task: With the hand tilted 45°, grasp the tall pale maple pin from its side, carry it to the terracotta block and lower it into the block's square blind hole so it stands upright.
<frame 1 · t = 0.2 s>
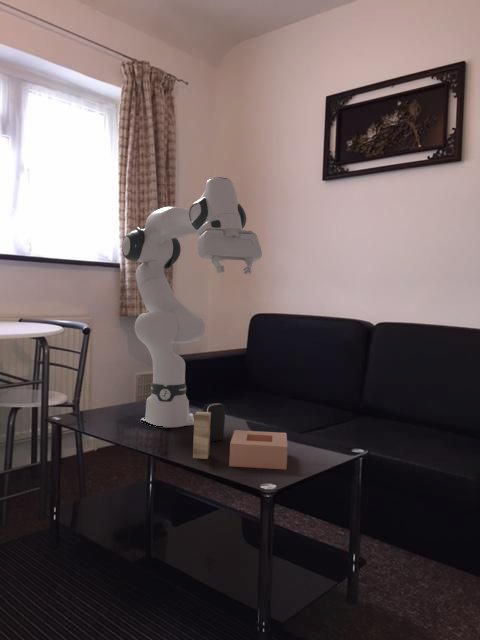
hand: (234, 273, 155), 51 cm above the table, tool tilted 20°, fingers open, 8 cm apart
maple pin: (201, 456, 149), on the table
battery charger: (212, 440, 167), on the table
terracotta socket block: (258, 459, 148), on the table
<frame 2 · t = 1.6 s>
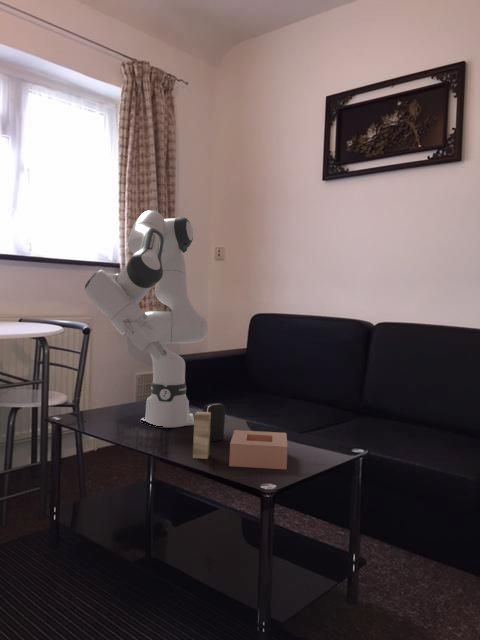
hand: (163, 357, 149), 27 cm above the table, tool tilted 45°, fingers open, 8 cm apart
nothing on the table moved.
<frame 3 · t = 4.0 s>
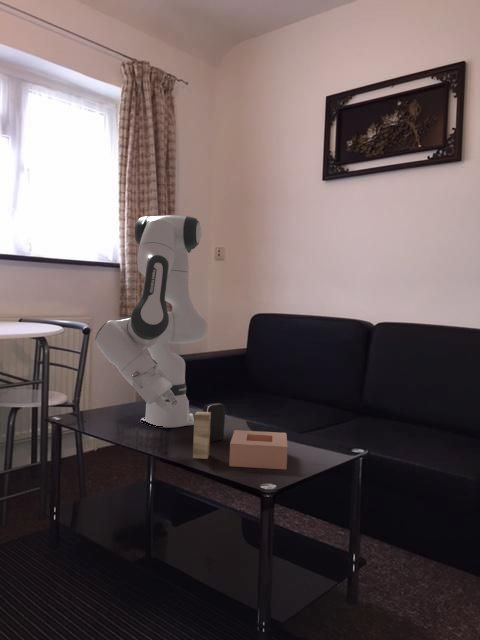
hand: (173, 407, 149), 13 cm above the table, tool tilted 45°, fingers open, 8 cm apart
nothing on the table moved.
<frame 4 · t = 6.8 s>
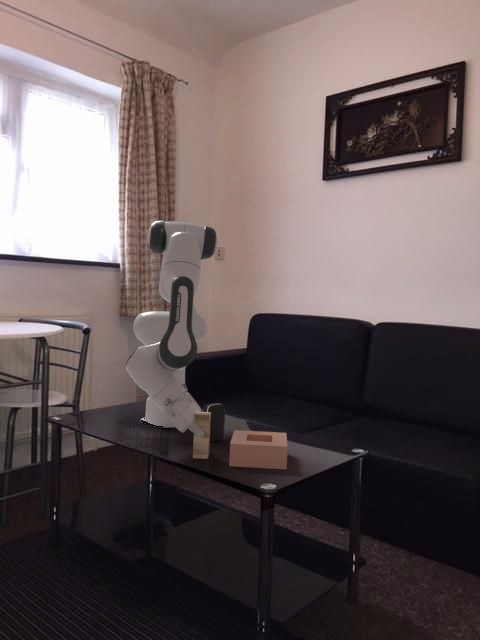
hand: (204, 433, 149), 6 cm above the table, tool tilted 45°, fingers closed on maple pin, 4 cm apart
maple pin: (201, 456, 149), on the table, touching gripper
everything else where it was.
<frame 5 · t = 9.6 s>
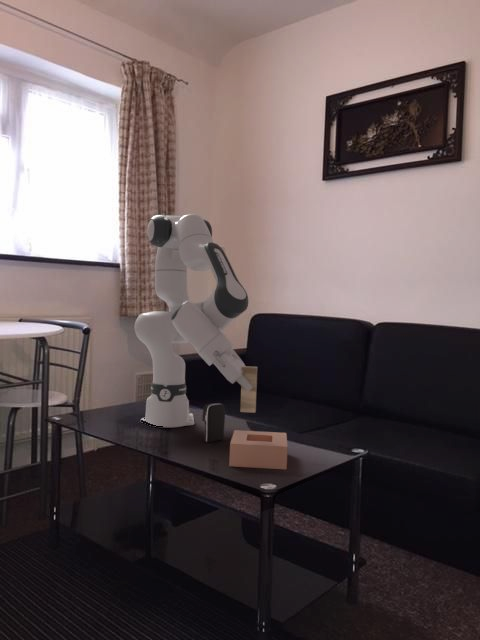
hand: (251, 387, 147), 20 cm above the table, tool tilted 45°, fingers closed on maple pin, 4 cm apart
maple pin: (248, 410, 147), point 13 cm above the table, touching gripper
everything else where it was.
when the fingers open (9 cm above the table, at t = 12.7 s): maple pin drops 1 cm, resting on terracotta socket block.
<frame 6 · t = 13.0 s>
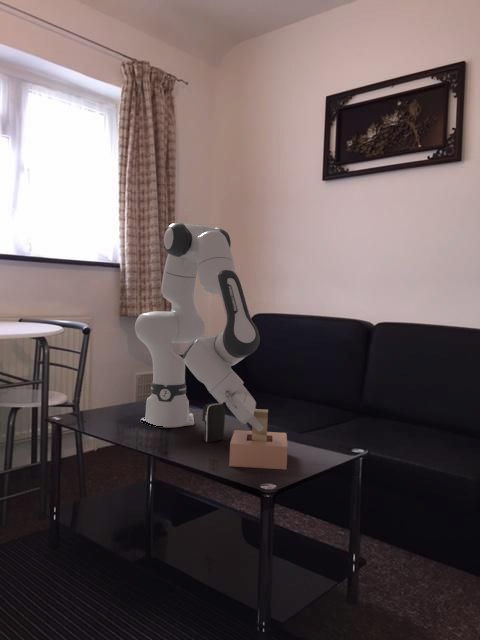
hand: (262, 426, 147), 9 cm above the table, tool tilted 45°, fingers open, 7 cm apart
maple pin: (258, 454, 148), point 2 cm above the table, touching terracotta socket block
everything else where it was.
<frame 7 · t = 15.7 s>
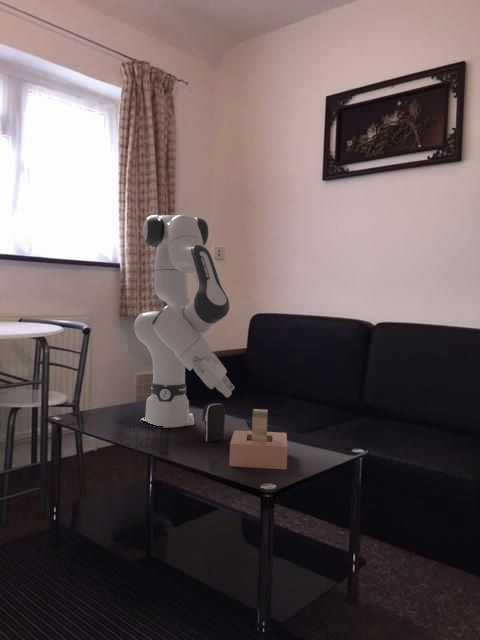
hand: (231, 392, 148), 18 cm above the table, tool tilted 45°, fingers open, 8 cm apart
nothing on the table moved.
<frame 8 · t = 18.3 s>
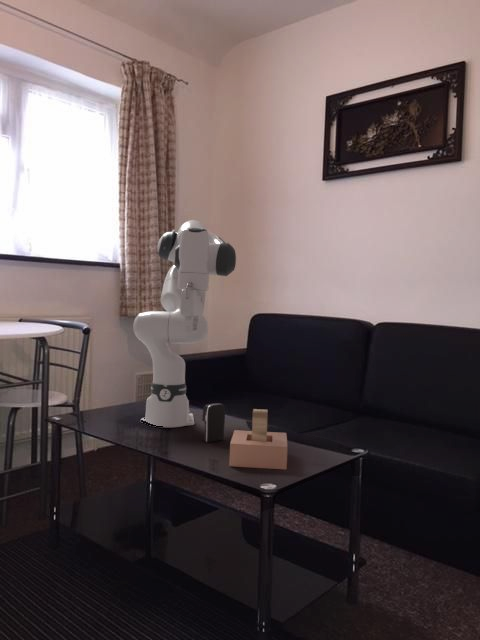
hand: (191, 331, 155), 34 cm above the table, tool pointing down, fingers open, 8 cm apart
nothing on the table moved.
at the end: maple pin 0.1 cm off-centre on the terracotta socket block, point 1.5 cm above the terracotta socket block's base; maple pin tilted 0°; the gripper is holding nothing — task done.
